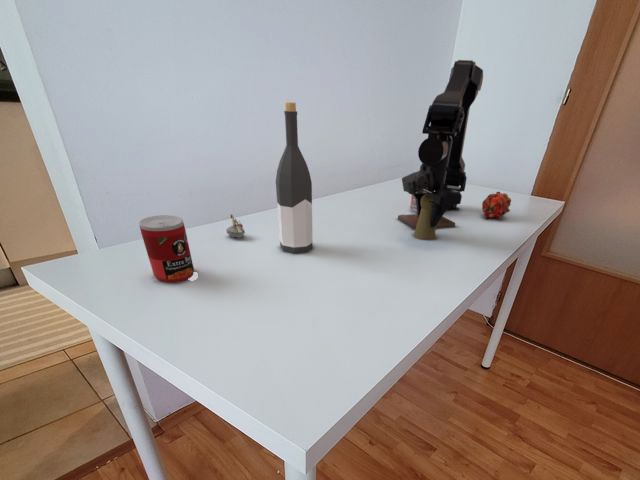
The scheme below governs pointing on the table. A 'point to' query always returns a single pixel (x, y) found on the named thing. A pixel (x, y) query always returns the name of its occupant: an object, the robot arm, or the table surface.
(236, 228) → the figurine
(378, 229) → the table surface
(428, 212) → the cork
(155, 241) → the canned food
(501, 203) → the dragon fruit
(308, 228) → the wine bottle
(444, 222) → the walnut board
